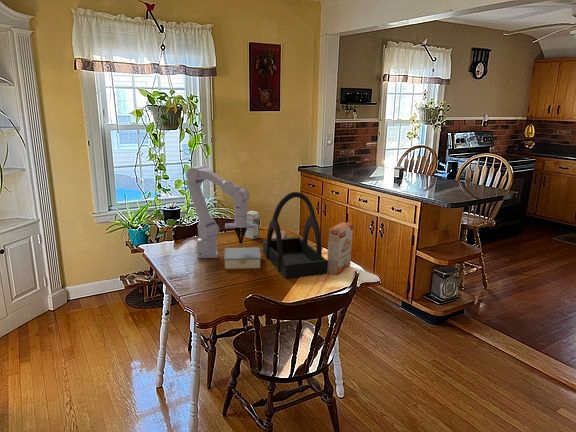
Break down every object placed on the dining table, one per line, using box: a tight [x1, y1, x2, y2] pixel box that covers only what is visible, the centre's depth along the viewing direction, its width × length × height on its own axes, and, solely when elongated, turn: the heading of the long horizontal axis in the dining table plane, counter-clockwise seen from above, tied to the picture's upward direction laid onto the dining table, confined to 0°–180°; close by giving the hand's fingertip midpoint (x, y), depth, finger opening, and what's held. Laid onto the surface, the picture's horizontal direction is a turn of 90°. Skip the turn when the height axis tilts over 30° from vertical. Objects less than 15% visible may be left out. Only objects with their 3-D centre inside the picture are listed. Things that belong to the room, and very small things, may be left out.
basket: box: [262, 191, 328, 280], centre depth 202 cm, size 35×21×35 cm, turn 20°
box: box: [224, 259, 261, 270], centre depth 204 cm, size 16×14×4 cm
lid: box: [223, 247, 262, 261], centre depth 203 cm, size 17×15×1 cm
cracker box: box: [326, 221, 354, 276], centre depth 197 cm, size 14×6×21 cm, turn 148°
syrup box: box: [244, 210, 260, 240], centre depth 241 cm, size 6×6×14 cm
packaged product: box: [272, 229, 290, 240], centre depth 236 cm, size 18×5×10 cm
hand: (240, 243), depth 203 cm, fingers closed
